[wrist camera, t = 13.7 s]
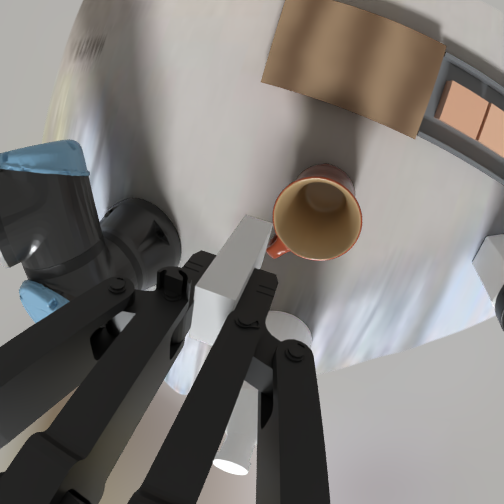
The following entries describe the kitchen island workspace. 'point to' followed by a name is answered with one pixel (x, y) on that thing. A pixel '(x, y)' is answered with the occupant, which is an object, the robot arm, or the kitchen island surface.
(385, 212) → the kitchen island surface
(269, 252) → the mug
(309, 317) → the kitchen island surface
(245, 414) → the bottle
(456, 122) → the tile
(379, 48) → the board
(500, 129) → the tile
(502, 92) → the tray
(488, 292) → the jar
